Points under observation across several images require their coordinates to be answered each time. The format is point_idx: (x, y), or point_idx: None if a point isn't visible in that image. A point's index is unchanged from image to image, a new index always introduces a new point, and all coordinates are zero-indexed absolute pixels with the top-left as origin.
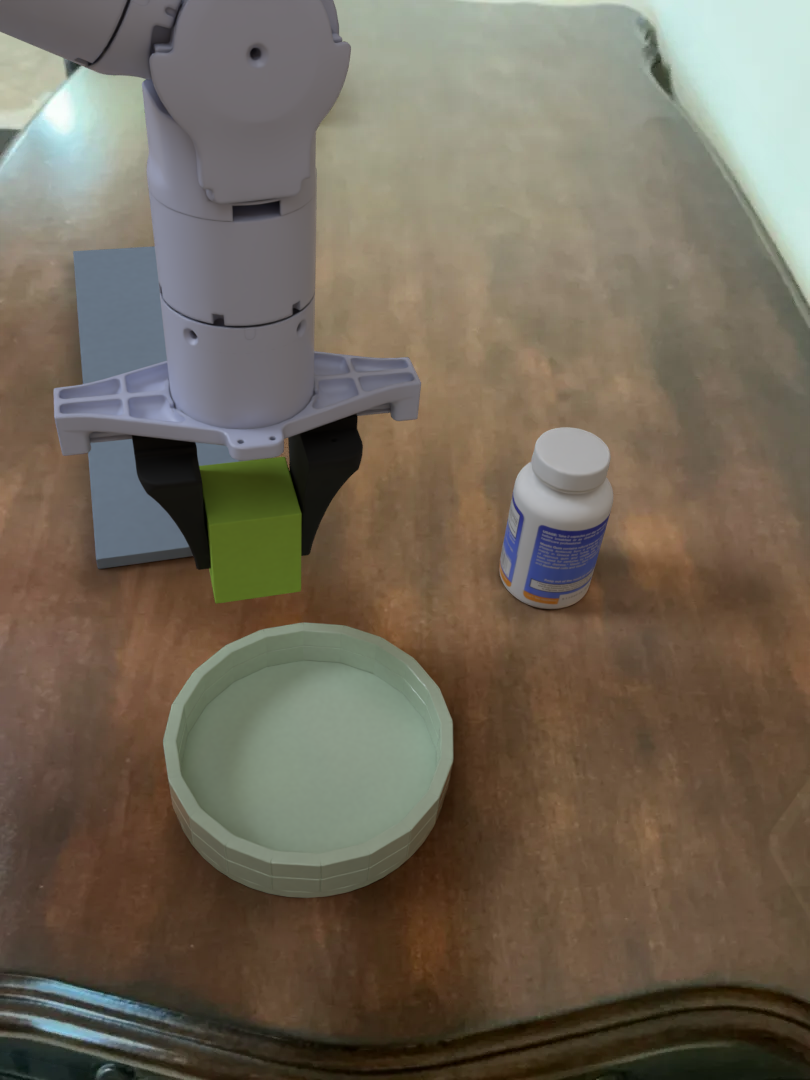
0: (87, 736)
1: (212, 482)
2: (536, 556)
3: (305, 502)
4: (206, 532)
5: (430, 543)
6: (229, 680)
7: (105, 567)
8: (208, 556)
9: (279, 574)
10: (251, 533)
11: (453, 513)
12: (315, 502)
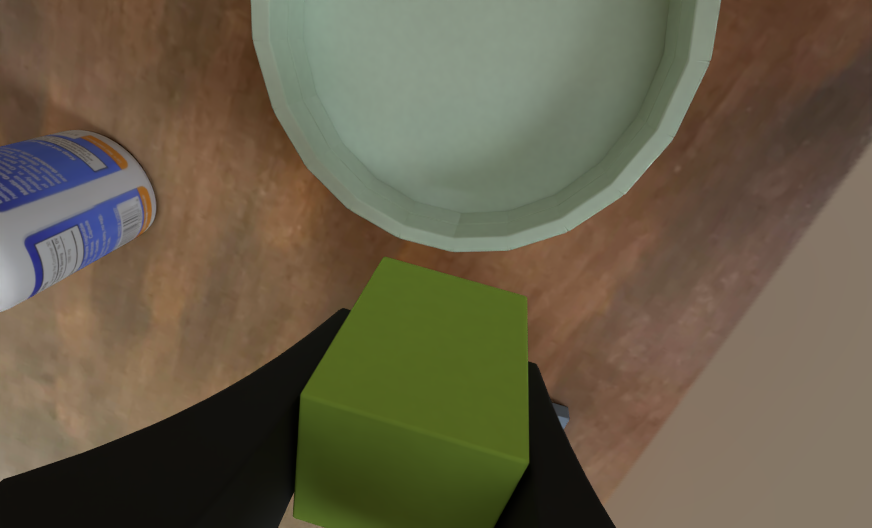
0: (700, 223)
1: None
2: (55, 185)
3: (275, 419)
4: None
5: (224, 284)
6: (515, 212)
7: (560, 405)
8: None
9: (407, 293)
10: (433, 395)
11: (190, 307)
12: (251, 408)
